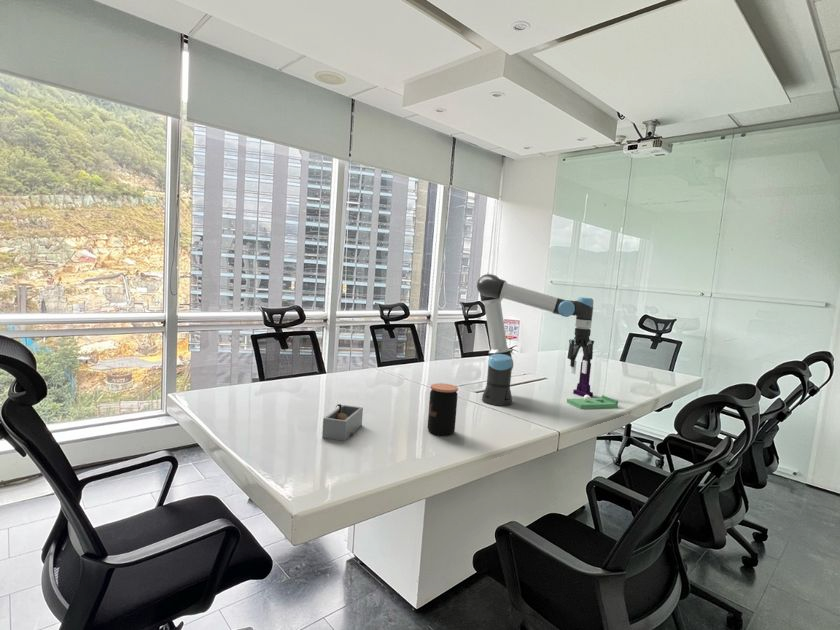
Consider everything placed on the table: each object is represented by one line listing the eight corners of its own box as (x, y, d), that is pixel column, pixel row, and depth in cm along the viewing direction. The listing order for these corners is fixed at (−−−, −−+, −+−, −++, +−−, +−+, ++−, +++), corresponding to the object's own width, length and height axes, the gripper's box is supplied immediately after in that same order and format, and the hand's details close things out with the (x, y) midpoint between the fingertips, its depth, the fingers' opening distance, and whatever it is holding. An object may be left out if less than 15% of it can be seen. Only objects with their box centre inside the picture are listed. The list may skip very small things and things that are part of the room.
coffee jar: (427, 426, 181) (430, 382, 179) (453, 428, 180) (457, 384, 179) (427, 435, 170) (430, 388, 169) (455, 437, 170) (458, 391, 168)
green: (580, 408, 224) (581, 401, 224) (566, 402, 235) (567, 396, 235) (617, 407, 232) (618, 401, 232) (602, 401, 242) (603, 395, 242)
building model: (572, 393, 257) (578, 341, 254) (580, 392, 260) (585, 341, 257) (585, 397, 249) (590, 344, 247) (592, 396, 252) (598, 343, 250)
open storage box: (322, 437, 160) (323, 418, 160) (341, 422, 178) (342, 404, 178) (344, 440, 158) (346, 421, 158) (361, 424, 177) (362, 407, 176)
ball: (583, 401, 231) (584, 395, 230) (582, 400, 234) (583, 393, 234) (590, 402, 230) (591, 396, 230) (589, 401, 233) (590, 394, 233)
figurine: (328, 423, 174) (330, 401, 173) (339, 422, 176) (341, 400, 175) (341, 436, 162) (344, 413, 161) (353, 435, 164) (355, 412, 163)
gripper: (572, 328, 220) (567, 374, 222) (603, 329, 226) (598, 374, 228) (562, 326, 227) (558, 371, 229) (593, 327, 233) (588, 371, 235)
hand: (578, 373), depth 229 cm, fingers open, 6 cm apart
